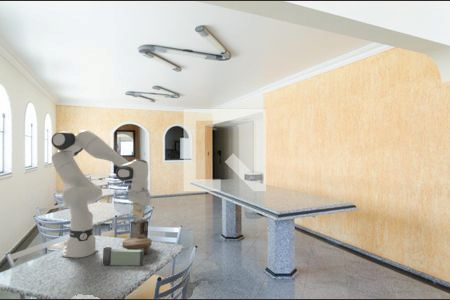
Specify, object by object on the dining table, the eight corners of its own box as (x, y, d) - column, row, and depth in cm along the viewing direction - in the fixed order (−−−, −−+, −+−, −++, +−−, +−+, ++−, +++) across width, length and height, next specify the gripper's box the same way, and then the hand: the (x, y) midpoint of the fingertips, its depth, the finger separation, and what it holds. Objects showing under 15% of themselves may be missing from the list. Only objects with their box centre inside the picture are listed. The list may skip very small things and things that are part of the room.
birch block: (135, 216, 163) (136, 202, 163) (144, 216, 163) (144, 203, 163) (132, 218, 158) (133, 204, 158) (141, 218, 158) (141, 204, 158)
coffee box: (141, 244, 181) (142, 219, 181) (147, 246, 177) (148, 220, 177) (129, 247, 173) (130, 221, 173) (135, 249, 169) (136, 223, 170)
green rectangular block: (101, 265, 144) (102, 249, 144) (104, 262, 148) (105, 247, 148) (141, 265, 145) (142, 250, 145) (143, 262, 149) (144, 247, 149)
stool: (118, 253, 162) (119, 239, 162) (145, 249, 171) (145, 235, 172) (127, 262, 149) (127, 247, 149) (155, 257, 159) (156, 243, 159)
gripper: (153, 189, 156) (152, 213, 155) (136, 185, 170) (135, 207, 170) (143, 189, 151) (142, 215, 151) (126, 185, 166) (125, 208, 166)
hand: (138, 211), depth 161 cm, fingers closed on birch block, 7 cm apart
